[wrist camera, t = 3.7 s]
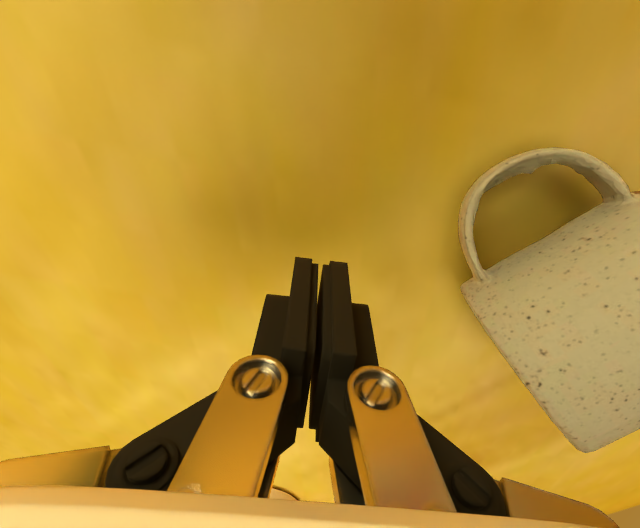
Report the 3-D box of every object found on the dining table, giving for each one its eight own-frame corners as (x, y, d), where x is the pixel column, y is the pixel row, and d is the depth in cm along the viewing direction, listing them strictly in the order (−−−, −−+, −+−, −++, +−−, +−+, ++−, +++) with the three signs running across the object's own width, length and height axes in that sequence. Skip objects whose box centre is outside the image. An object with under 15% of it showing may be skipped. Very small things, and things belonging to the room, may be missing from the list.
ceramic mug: (667, 265, 17) (888, 399, 10) (510, 346, 20) (601, 490, 13) (579, 86, 13) (840, 113, 6) (401, 220, 16) (451, 334, 9)
